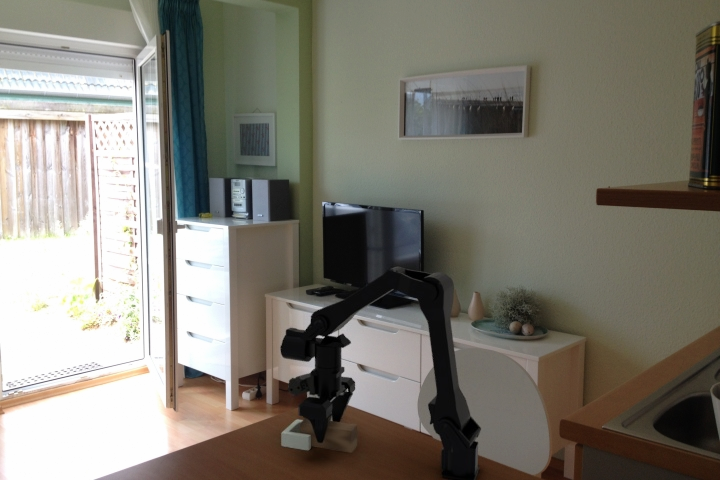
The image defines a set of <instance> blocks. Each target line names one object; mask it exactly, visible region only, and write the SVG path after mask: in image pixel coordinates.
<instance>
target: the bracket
mask: <svg viewBox="0 0 720 480" xmlns="http://www.w3.org/2000/svg"><path fill="white" fill-rule="evenodd" d="M303 420H304V419H295V420H294V421H293V422H292V423H291V424H290V425H288V426H287V427H286V428H285V429H283V431H282V432H281V434H280V439H281V442H280V443H281V444H280V446H281V447H285V448H291V449H295V450H297V449H298V450H303V451H310V450H311V448H312V446H311V435H308V434H302V433H300V423H301V422H302V421H303Z"/></svg>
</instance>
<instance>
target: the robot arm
mask: <svg viewBox="0 0 720 480" xmlns="http://www.w3.org/2000/svg"><path fill="white" fill-rule="evenodd" d="M454 285H455V284H454V282H453V280H452V278H451V277H450V276H449V275H448V274H447V273H444V272H440V271H438V272H433V273H429V272H428V271H427V272H426V271H420V270H413V269H408V268H406V267H401V266H395V267H392V268H390V269H387V270H386V271H384V273H383V274H382V275H379V277H376V278H375V279H374V280H372V281H370V282H369V283H367V284H366V285H364V286H363V287H361V288H359V289H358V290H357V291H355V292H353V293H352V294H350V295H348V296H347V297H345V298H344V299H342V300H339V301H336V302H335V303H330V304H328V305H327V306H324V307H322V308H320V309H317V310H315V311H314V312H312V314H311V315H310V323H309V324H308V326H307V327H306V329H298V328H296V327H288V328H287V329H285V335H284V336H283V339H282V341H281V345H280V348H279V349H280V355H281V356H282V358H283V359H287V360H293V361H299V362H306V363H308V362H310V361H311V360H312V359H314V368H313V369H312V370H311V371H310V372H308V373H304V374H301V375H298V376H296V377H291V378H290V379H289V380H288V383H287V391H288V392H289V393H290V394H291V395H292V396H293V397H297V396H299V395H301V394H305V393H306V394H307V392H309V395H317V396H318V397H319V398H315V397H308V398H307V397H306V398H304V400H303V401H302V402H301V403H300V404H299V405H298V406H297V413H298V414H297V415H298V416H300V417H302V418H304V419H305V418H307V419H308V420H309V421H310V422H311V425H312V427H313V430H314V433H315V436H316V439H317V442H318V443H323V441H324V438H325V435H326V432H327V429H328V426H329V423H330V420H331V417H332V421H335V422H342V421H341V420H342V419H343V417H344V414H345V411H346V409H347V407H348V405H349V403H350V401H351V399H352V396H353V395H354V391H355V390H356V381H355V380H354V379H353V378H352V377H349V376H342V374H343V373H344V372H345V367H344V366H342V349H344V348H346V347H347V346H350V344H352V342H351V339H349V338H348V337H346V335H345V333H341V334H339V335H337V336H335V335H332V334H333V333H336V332H338V331H340V330H342V329H343V328H344V327H345V326H346V325H347V324H348V323H349V322H350V321H351V320H353V318H354V316H356V314H358V313H359V312H360V311H362V310H364V308H365V309H366V307H368V306H370V305H371V304H373V303H374V302H376V301H378V300H379V299H381V298H383V297H384V296H386V295H388V294H389V293H390V292H392V291H394V290H395V291H398V292H399V293H401V294H403V295H405V296H407V297H411V298H413V299H417V302H418V305H419V309H420V311H421V312H422V313H421V314H423V316H424V318H425V320H426V322H427V327H428V328H427V329H428V334H429V342H430V343H429V344H430V349H431V356H432V357H431V358H432V365H433V372H434V373H433V374H434V382H435V388H436V395H435V396H434V397H433V398H432V399H431V400H430V401H429V402H428V403H427V406H428V407H427V408H428V411H429V415H430V421H429V425H430V426H431V425H432V427H433V430H434V432H435V434H436V435H438V436H439V438H440V442H441V444H442V448H441V452H440V470H441V471H442V472H441V477H442V478H446V479H447V478H448V479H452V480H453V479H454V480H476V478H477V476H478V473H479V470H480V465H478V463H479V461H478V460H479V441H476V440H477V438H478V437H479V435H480V433H481V431H482V427H481V426H480V425H479V424H478V423H477V422H476V421H475V420H474V418H473V417H472V415H471V412H470V409H469V405H468V402H467V399H466V397H465V395H464V394H463V391H462V390H461V388H460V385H459V376H458V370H457V369H458V368H457V361H456V360H457V359H456V354H455V353H456V352H455V346H454V345H455V344H454V338H453V336H454V335H453V329H452V322H451V316H452V315H451V314H452V310H453V305H454V294H455V293H454V292H455V291H454V289H455V286H454ZM331 413H332V414H331Z"/></svg>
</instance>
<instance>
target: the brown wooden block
mask: <svg viewBox="0 0 720 480" xmlns="http://www.w3.org/2000/svg"><path fill="white" fill-rule="evenodd" d="M302 420H303V421H302V422H301V423H300V433H302V434H308V435H311V447H313V448H318V449H320V448H321V449H326V450H332V451H339V452H344V453H350V454H351V453H353V452H354V451H355V450H356V448H357V447H358V424H355V423H354V424H353V423H347V422H342V421H340V422H335V421H330V423H329V426H328V429H327V432H326V435H325V438H324V441H323V443H318V442H317V439H316V436H315V433H314V430H313V427H312V425H311V422H310V421H309V420H308V419H307V418H304V419H302Z"/></svg>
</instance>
